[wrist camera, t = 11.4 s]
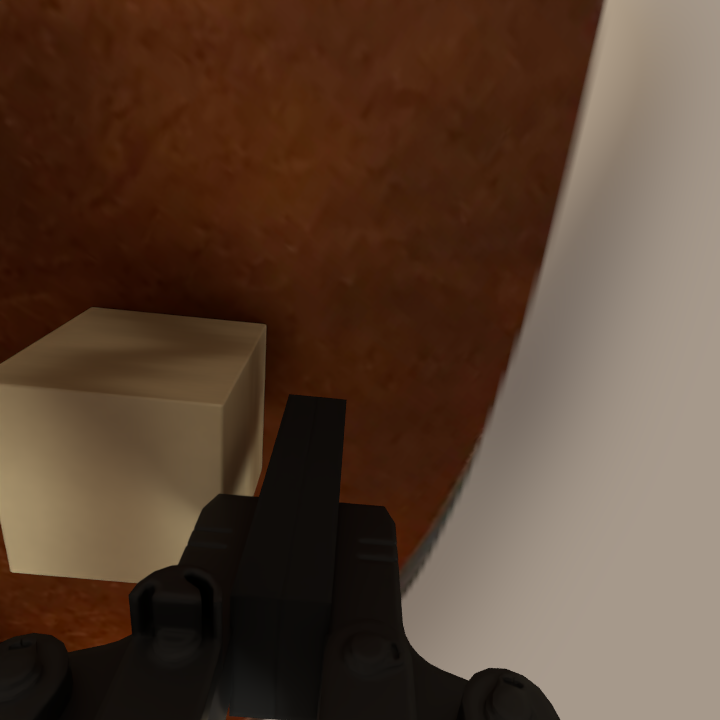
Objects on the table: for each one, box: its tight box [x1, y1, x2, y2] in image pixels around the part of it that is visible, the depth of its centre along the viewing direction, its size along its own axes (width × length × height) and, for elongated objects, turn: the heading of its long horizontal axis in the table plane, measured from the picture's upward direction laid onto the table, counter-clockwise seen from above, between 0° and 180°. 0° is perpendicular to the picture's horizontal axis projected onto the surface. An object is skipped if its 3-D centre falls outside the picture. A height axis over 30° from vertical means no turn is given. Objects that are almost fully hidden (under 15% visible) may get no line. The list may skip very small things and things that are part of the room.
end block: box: [0, 307, 267, 583], centre depth 14 cm, size 5×5×5 cm
